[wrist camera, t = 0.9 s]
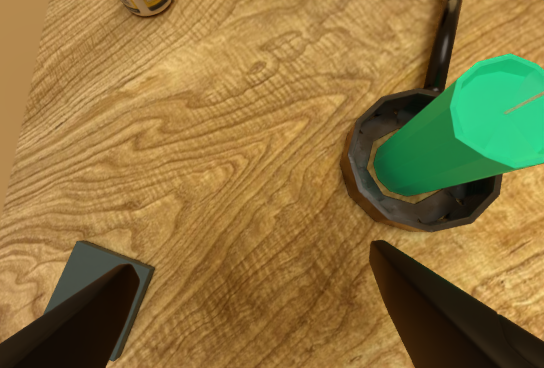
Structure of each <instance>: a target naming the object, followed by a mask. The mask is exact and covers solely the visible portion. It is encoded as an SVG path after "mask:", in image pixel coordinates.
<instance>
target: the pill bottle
mask: <svg viewBox="0 0 544 368" xmlns="http://www.w3.org/2000/svg"><path fill="white" fill-rule="evenodd" d="M121 1H122V3H123V4H124V5H125V6H126V8H127V9H128V10H130V11H131V12H133V13H135V14H137V15H141V16H151V15H155V14H157V13H159V12H161V11H163V10H164V9H165V8H166V7H167V6H168V5H169V4H170V3H171V1H172V0H121Z"/></svg>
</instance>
